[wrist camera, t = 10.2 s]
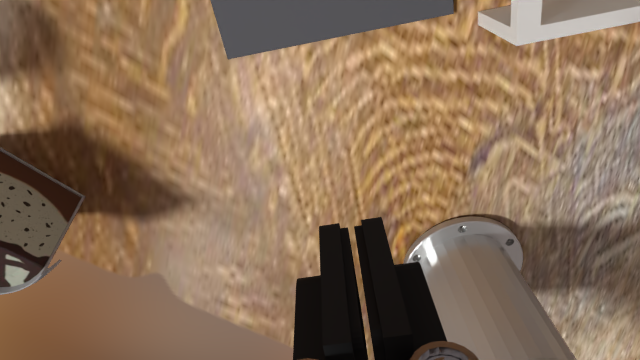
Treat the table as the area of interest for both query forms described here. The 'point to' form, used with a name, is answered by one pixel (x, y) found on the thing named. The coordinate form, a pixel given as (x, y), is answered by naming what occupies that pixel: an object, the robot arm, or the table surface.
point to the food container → (31, 221)
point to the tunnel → (556, 18)
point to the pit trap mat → (311, 20)
